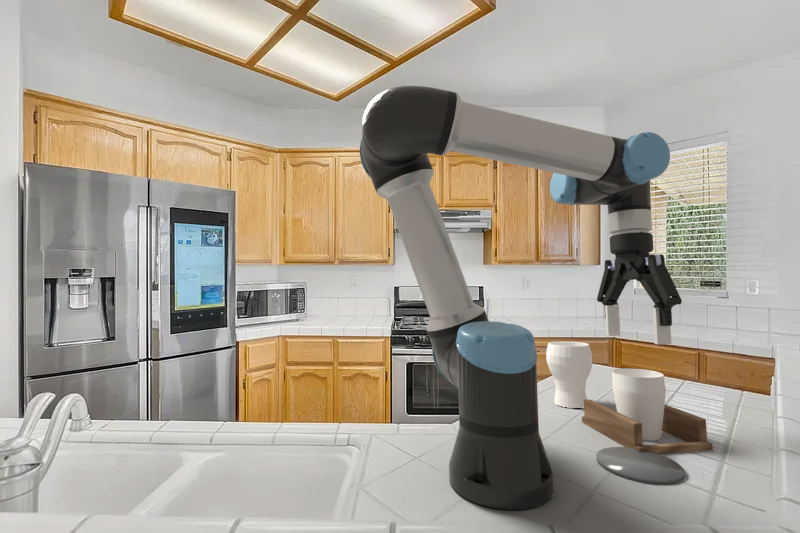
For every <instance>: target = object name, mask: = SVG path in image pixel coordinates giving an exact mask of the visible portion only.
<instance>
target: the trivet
mask: <svg viewBox="0 0 800 533" xmlns="http://www.w3.org/2000/svg"><path fill="white" fill-rule="evenodd" d="M596 461H597V463H598V465H599V466H600V467H601V468H603V469H604V470H605V471H607V472H610V473H611V474H613V475H615V476H618V477H621V478H624V479H627V480H630V481H633V482H634V481H635V482H638V483H644V484H651V485H671V484H676V483H678V482H681V481H682V480H683V479H684V478H685V470H684V468H683V466H682V465H680V464H679V462H677V461H675V460H673V459H672V458H669V457H667V456H665V455H664V454H657V453H654V452H651V451H643V452H639V451H637V450H635V449H634V448H629V447H624V446H610V447H605V448H602V449H600V450H597V452H596Z"/></svg>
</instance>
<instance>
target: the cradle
mask: <svg viewBox="0 0 800 533" xmlns="http://www.w3.org/2000/svg"><path fill="white" fill-rule="evenodd" d="M583 412H584V413H583V414H584V415H583V416H581V422H582V423H583V424H584V425H586V426H588V427H590V428H591V429H593V430H595V431H597V432H599V433H600V434H602V435H603V436H606V438H609V439H611V440H612V441H614V442H616V443H617V444H619V445H621V447H629V448H634V449H635V450H637V451H639V452H643V451H651V452H654V453H657V454H660V455H664V454H665V455H666V454H677V453H680V454H681V453H691V452H707V451H714V445H713V442H711V441H708V432H707V429H708V428H707V419H705V418H703V417H701V416H699V415H695V414H693V413H690V412H688V411H684V410H681V409H679V408H676V407H673V406H671V405H669V404H665V405H664V415H663V425H662V433H665V434H668V435H670V436H673V437H674V438H677V439H679V440H681V441H683V442H674V443H660V444H659V443H657V444H643V442H644V441H643V440H642V423H640V422H638V421H636V420H634V419H631V418H629V417H627V416H625V415H623V414H621V413H618V412H617V410H614V409H612V408H610V407H607V406H605V405H604V404H600V403H598V402H596V401H594V400H593V399H587V400H584V408H583Z"/></svg>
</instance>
